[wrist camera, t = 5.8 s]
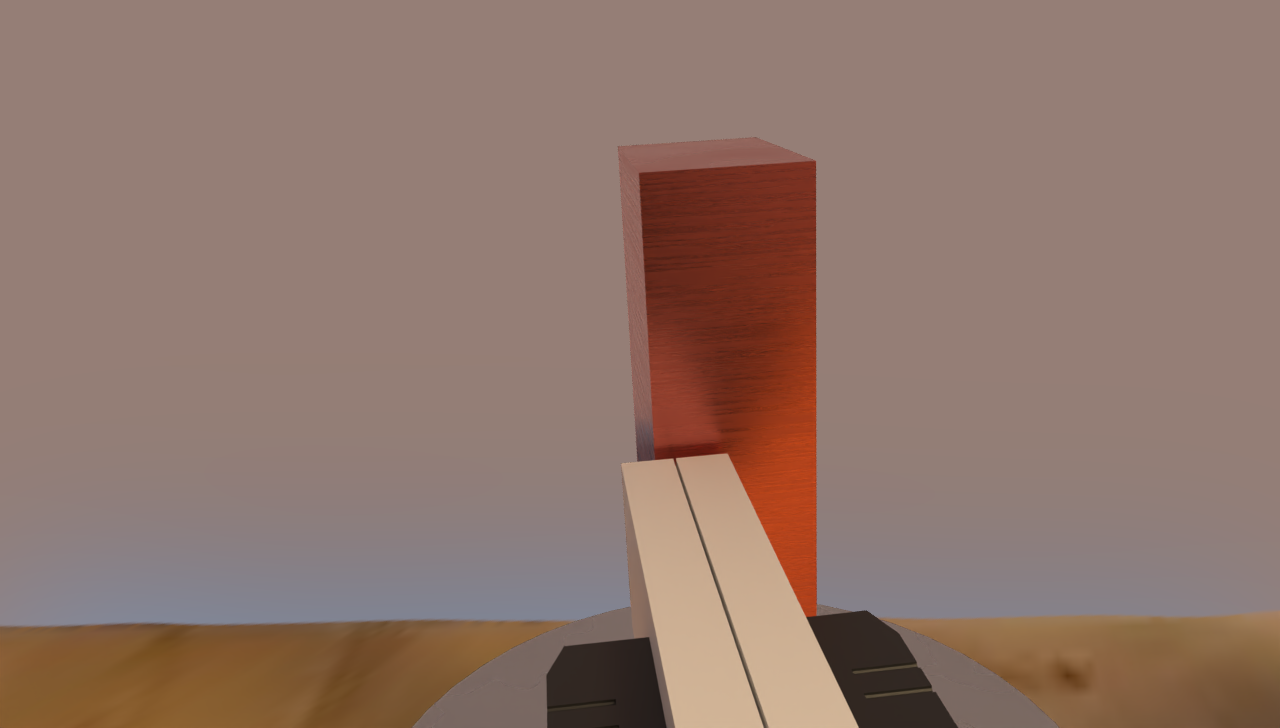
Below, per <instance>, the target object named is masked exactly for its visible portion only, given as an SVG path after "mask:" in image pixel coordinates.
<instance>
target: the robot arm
mask: <svg viewBox="0 0 1280 728" xmlns="http://www.w3.org/2000/svg"><path fill="white" fill-rule="evenodd" d="M676 468H677V469H676ZM621 471H622V485H623V500H624V514H625V528H626V542H627V556H628V571H629V586H630V600H631V614H632V628H633V634H634V639H626V640H617V641H608V642H598V643H589V644H580V645H571V646H564V647H563V649H562V650H561V652H560V654H559V655H558V657H557V659H556V660H555V662H554V663H553V665H552V667H551V668H550V670H549V672H548V673H547V675H546V681H547V728H958V727H957V725H956V723H955V722H954V720H953V719H952V717H951V715H950V714H949V712H948V711H947V709H946V707H945V706H944V704H943V703H942V701H941V699H940V698H939V696H938V695H937V693H936V692H933V690H932V685H931V684H930V682H929V680H928V679H927V677H926V676H925V674H924V672H923V671H922V669H921V668H918V666H917V661H916V660H915V658H914V656H913V655H912V653H911V652H910V650H909V648H908V647H907V645H906V644H905V642H904V640H903V639H902V637H901V636H900V634H899V633H898V632H897V631H895V630H894V629H892V628H891V627H889V626H888V625H887V624H885V623H884V622H882V621H881V620H879V619H878V618H877V617H875V616H874V615H872V614H871V613H869V612H868V611H857V612H848V613H839V614H829V615H820V616H811V617H806V616H805V614H804V612H803V610H802V608H801V606H800V604H799V602H798V600H797V597H796V595H795V593H794V591H793V589H792V587H791V585H790V583H789V581H788V579H787V577H786V574H785V572H784V570H783V568H782V566H781V564H780V562H779V560H778V558H777V556H776V554H775V551H774V549H773V547H772V545H771V543H770V541H769V539H768V537H767V535H766V533H765V531H764V528H763V526H762V524H761V522H760V520H759V518H758V516H757V514H756V512H755V510H754V508H753V506H752V503H751V501H750V499H749V497H748V495H747V493H746V491H745V489H744V487H743V485H742V483H741V480H740V478H739V476H738V474H737V472H736V470H735V468H734V466H733V464H732V462H731V460H730V457H729V455H728V453H726V454H715V455H705V456H694V457H683V458H676V466H675V463H674V460H673V459H662V460H652V461H641V462H630V463H621Z"/></svg>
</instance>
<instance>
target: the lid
mask: <svg viewBox="0 0 1280 728" xmlns="http://www.w3.org/2000/svg"><path fill="white" fill-rule="evenodd" d="M618 154H619V170H620V187H621V202H622V218H623V236H624V251H625V266H626V282H627V283H626V284H627V299H628V315H629V332H630V349H631V363H632V364H631V365H632V381H633V397H634V413H635V429H636V445H637V462H641V461H652V460H662V459H673V460H674V463H675V466H676V458H683V457H694V456H705V455H715V454H726V453H728V455H729V457H730V460H731V462H732V464H733V466H734V468H735V470H736V472H737V474H738V476H739V478H740V480H741V483H742V485H743V487H744V489H745V491H746V493H747V495H748V497H749V499H750V501H751V503H752V506H753V508H754V510H755V512H756V514H757V516H758V518H759V520H760V522H761V524H762V526H763V528H764V531H765V533H766V535H767V537H768V539H769V541H770V543H771V545H772V547H773V549H774V551H775V554H776V556H777V558H778V560H779V562H780V564H781V566H782V568H783V570H784V572H785V574H786V577H787V579H788V581H789V583H790V585H791V587H792V589H793V591H794V593H795V595H796V597H797V600H798V602H799V604H800V606H801V608H802V610H803V612H804V614H805V616H806V617H811V616H820V615H829V614H839V613H848V612H851V611H846V610H842V609H838V608H833V607H829V606H824V605H818V604H817V603H816V601H817V591H816V590H817V588H816V587H817V584H816V582H817V580H816V579H817V576H816V574H817V573H816V572H817V568H816V161H815V160H813V159H810V158H808V157H805V156H802V155H800V154H797V153H794V152H792V151H789V150H787V149H784V148H782V147H779V146H777V145H774V144H772V143H769V142H766V141H764V140H761V139H759V138H756V137H753V138H738V139H723V140H708V141H693V142H677V143H662V144H647V145H632V146H618ZM676 469H677V468H676ZM879 620H880V619H879ZM881 621H882V622H884V623H885V624H887V625H888V626H889V627H891V628H892V629H894V630H895V631H897V632H898V633H899V634H900V636H901V637H902V639H903V640H904V642H905V644H906V645H907V647H908V648H909V650H910V652H911V653H912V655H913V656H914V658H915V660H916V661H917V666H918V668H921V669H922V671H923V672H924V674H925V676H926V677H927V679H928V680H929V682H930V684H931V685H932V690H933V692H936V693H937V695H938V696H939V698H940V699H941V701H942V703H943V704H944V706H945V707H946V709H947V711H948V712H949V714H950V715H951V717H952V719H953V720H954V722H955V723H956V725H957V727H958V728H1059V727H1058V725H1057V724H1056V723H1055V722H1054V721H1053V720H1052V719H1050V718H1049V717H1048V716H1047V715H1046V714H1045V713H1044V712H1043V711H1042V710H1041V709H1040V708H1038V707H1037V706H1036V705H1035V704H1034V703H1033V702H1032V701H1031V700H1030V699H1029V698H1027V697H1026V696H1025V695H1024V694H1022V693H1021V692H1020V691H1018V690H1017V689H1016V688H1014V687H1013V686H1011V685H1010V684H1009V683H1007V682H1006V681H1005V680H1003V679H1002V678H1001V677H999V676H998V675H997V674H995V673H994V672H992V671H990V670H989V669H987V668H985V667H984V666H982V665H980V664H979V663H977V662H975V661H974V660H972V659H970V658H969V657H967V656H965V655H964V654H962V653H960V652H958V651H956V650H954V649H952V648H949V647H947V646H945V645H943V644H941V643H939V642H937V641H935V640H933V639H931V638H929V637H926V636H924V635H921V634H919V633H916V632H914V631H911V630H908V629H906V628H903V627H901V626H898V625H896V624H893V623H890V622H886V621H883V620H881ZM626 639H634V634H633V628H632V614H631V607H627V608H623V609H618V610H613V611H609V612H606V613H602V614H599V615H595V616H592V617H588V618H585V619H581V620H578V621H575V622H572V623H570V624H567V625H564V626H562V627H559V628H556V629H554V630H551V631H548V632H546V633H543V634H541V635H539V636H537V637H535V638H533V639H531V640H528V641H526V642H524V643H522V644H520V645H518V646H516V647H514V648H512V649H510V650H508V651H507V652H505V653H503V654H502V655H500V656H498V657H496V658H495V659H493V660H491V661H490V662H488V663H486V664H484V665H483V666H481V667H480V668H479V669H477V670H476V671H474V672H473V673H472V674H470V675H469V676H468V677H466V678H465V679H463V680H462V681H461V682H459V683H458V684H456V685H455V686H454V687H453V688H452V689H450V690H449V691H448V692H447V693H446V694H445V695H444V696H443V697H441V698H440V699H439V700H438V701H437V702H436V703H435V704H434V705H432V706H431V707H430V708H429V709H428V710H427V711H426V712H425V713H424V714H423V716H422V717H421V718H420V719H419V720H418V721H417V722H416V723H415V725H414V726H413V727H412V728H547V681H546V675H547V673H548V672H549V670H550V668H551V667H552V665H553V663H554V662H555V660H556V659H557V657H558V655H559V654H560V652H561V650H562V649H563V647H564V646H571V645H580V644H589V643H598V642H608V641H617V640H626Z"/></svg>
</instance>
